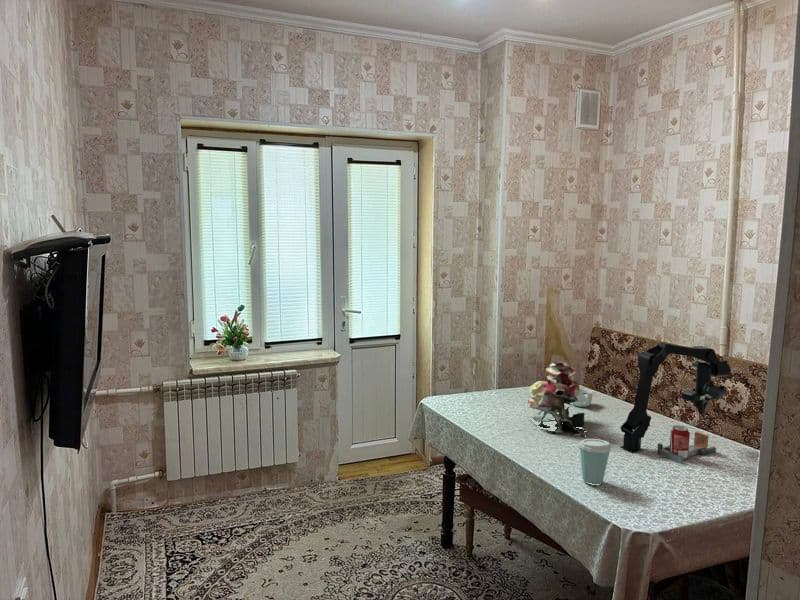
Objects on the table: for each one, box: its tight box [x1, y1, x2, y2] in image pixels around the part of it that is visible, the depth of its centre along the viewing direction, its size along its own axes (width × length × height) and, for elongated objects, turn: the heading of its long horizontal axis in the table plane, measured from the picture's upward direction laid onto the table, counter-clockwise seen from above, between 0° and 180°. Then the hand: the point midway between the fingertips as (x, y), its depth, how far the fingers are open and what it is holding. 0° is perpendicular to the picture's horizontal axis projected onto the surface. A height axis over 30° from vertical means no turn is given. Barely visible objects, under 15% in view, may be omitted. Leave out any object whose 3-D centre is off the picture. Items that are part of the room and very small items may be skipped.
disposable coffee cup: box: [579, 438, 612, 484], centre depth 203 cm, size 11×11×15 cm
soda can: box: [669, 424, 691, 461], centre depth 226 cm, size 7×7×12 cm
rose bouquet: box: [527, 361, 587, 437], centre depth 262 cm, size 26×29×30 cm
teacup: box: [572, 387, 594, 408], centre depth 293 cm, size 14×11×8 cm
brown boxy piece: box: [688, 431, 709, 457], centre depth 230 cm, size 10×5×7 cm, turn 116°
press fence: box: [657, 443, 684, 464], centre depth 228 cm, size 12×11×4 cm
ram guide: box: [689, 444, 717, 456], centre depth 233 cm, size 8×6×2 cm
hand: (701, 414), depth 239 cm, fingers closed
